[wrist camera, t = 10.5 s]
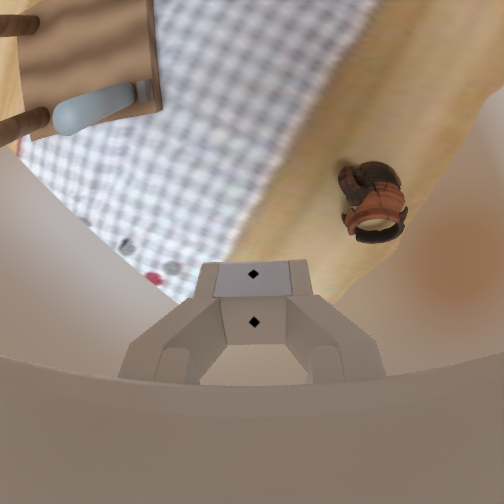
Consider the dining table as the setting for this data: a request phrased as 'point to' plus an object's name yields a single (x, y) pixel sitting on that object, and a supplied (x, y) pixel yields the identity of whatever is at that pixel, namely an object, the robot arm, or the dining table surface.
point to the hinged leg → (91, 107)
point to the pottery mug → (373, 201)
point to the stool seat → (81, 58)
